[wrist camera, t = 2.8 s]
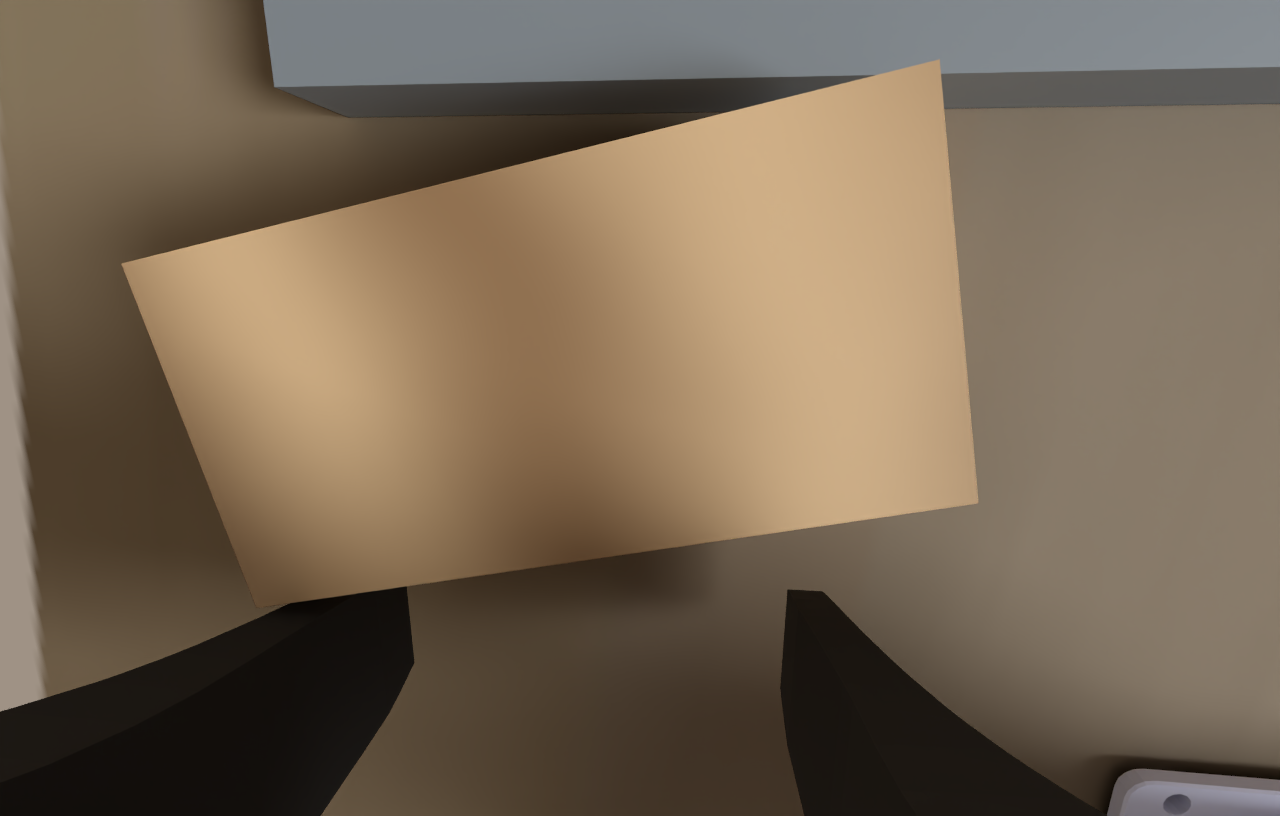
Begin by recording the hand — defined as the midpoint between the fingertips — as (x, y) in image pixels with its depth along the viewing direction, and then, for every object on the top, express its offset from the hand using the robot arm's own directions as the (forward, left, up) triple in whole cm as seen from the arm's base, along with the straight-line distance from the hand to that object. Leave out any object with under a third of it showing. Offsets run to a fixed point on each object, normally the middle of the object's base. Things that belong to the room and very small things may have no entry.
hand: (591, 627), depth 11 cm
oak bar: (0, -5, -2) cm, 5 cm away
